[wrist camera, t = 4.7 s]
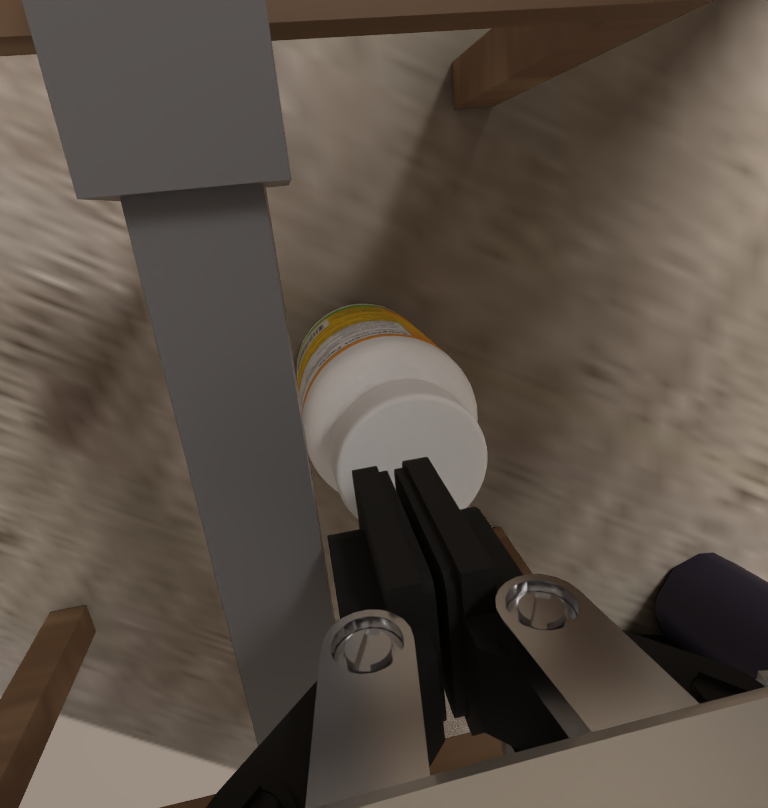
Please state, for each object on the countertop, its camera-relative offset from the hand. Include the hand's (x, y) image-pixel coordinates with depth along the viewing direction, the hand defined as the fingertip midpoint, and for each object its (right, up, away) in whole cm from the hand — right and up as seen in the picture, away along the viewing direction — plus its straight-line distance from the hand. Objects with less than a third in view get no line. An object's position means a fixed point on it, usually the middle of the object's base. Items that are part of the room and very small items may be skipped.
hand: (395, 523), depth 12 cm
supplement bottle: (-1, +4, +11) cm, 12 cm away
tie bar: (-3, 0, 0) cm, 3 cm away
